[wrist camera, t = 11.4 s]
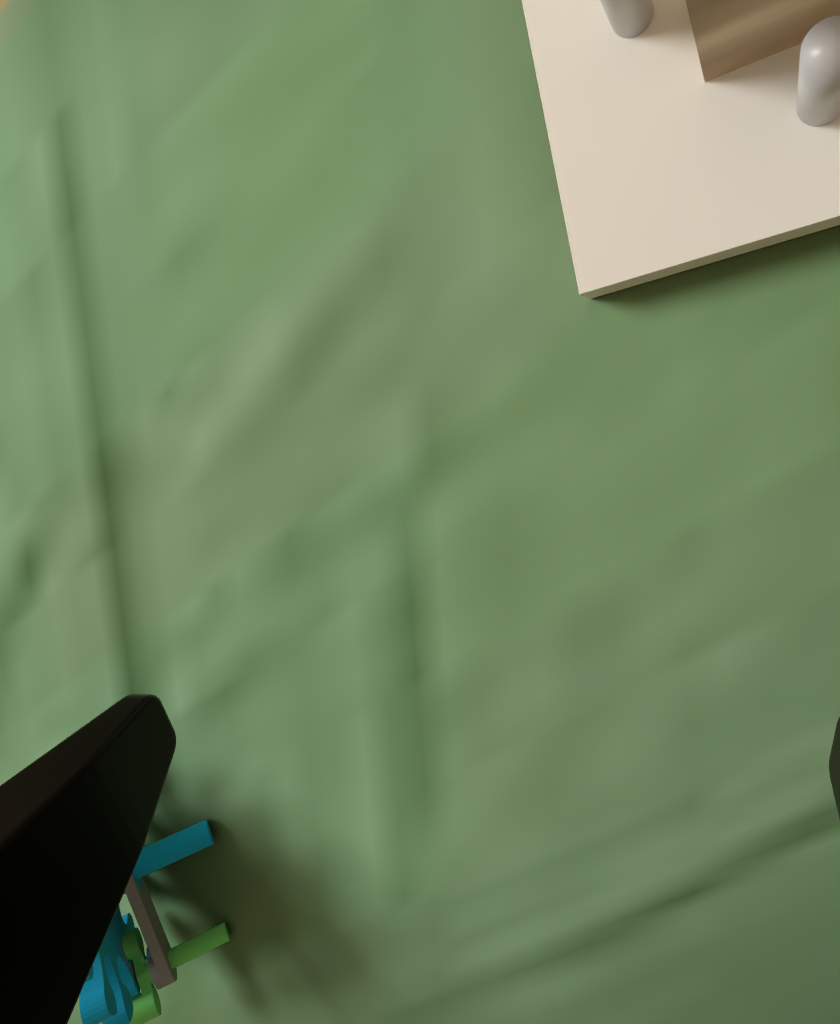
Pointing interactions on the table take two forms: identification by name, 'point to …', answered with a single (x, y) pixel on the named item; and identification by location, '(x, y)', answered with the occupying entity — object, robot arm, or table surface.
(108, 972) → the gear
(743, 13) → the maple block
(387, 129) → the table surface
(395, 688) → the table surface
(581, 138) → the pin plate
